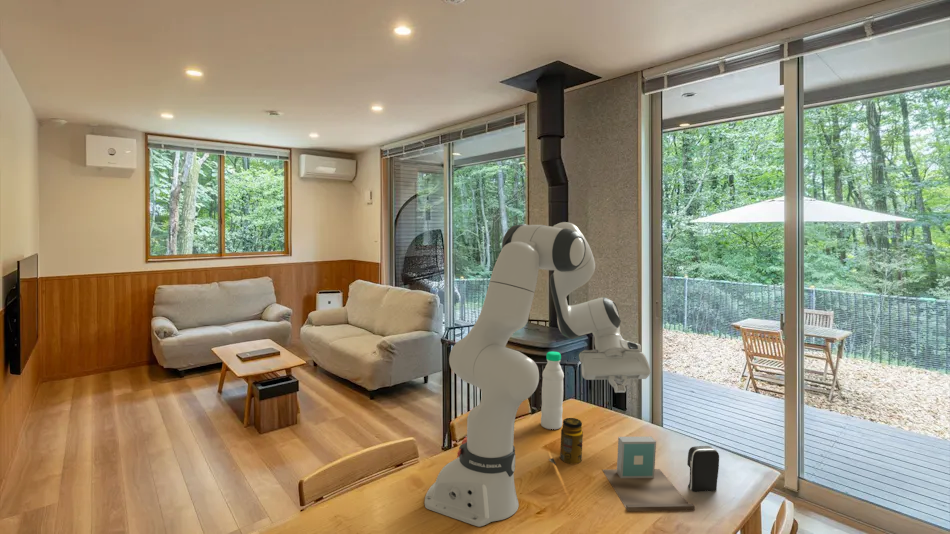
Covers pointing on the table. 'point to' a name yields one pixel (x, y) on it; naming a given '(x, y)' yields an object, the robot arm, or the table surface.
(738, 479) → the table surface
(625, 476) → the grey rectangular block
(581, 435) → the condiment
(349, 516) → the table surface
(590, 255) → the robot arm
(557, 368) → the water bottle
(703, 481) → the battery charger
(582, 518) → the table surface
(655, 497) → the board
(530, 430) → the table surface
